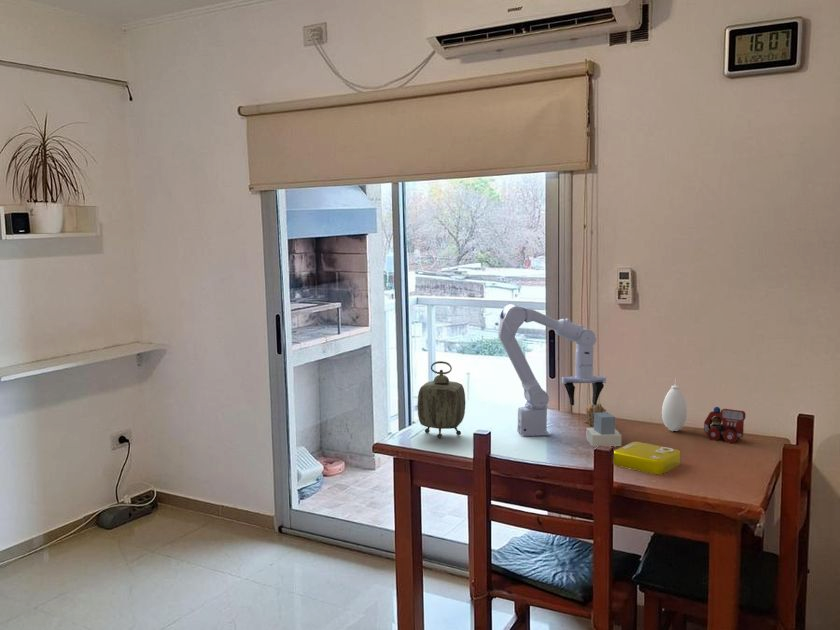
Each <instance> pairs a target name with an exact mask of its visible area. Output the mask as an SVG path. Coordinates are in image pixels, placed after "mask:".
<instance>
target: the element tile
mask: <svg viewBox="0 0 840 630" xmlns="http://www.w3.org/2000/svg"><path fill="white" fill-rule="evenodd" d="M613 451H614V465H613V466H615V465H617V466H616V467H619V466H623V467H627V468H631V469H630V470H632V469H636V470H640V471H643V472H642V473H645V472H648V473H647V474H649V473H653V474H652V475H654V474H662V475H664V474H666V473H668V472H670V471H671V470H670V469H672V468H673V469H675V468H677V467H678V465H679V464H680V465H681V451H680V449H676V448H671V447H666V446H661V445H656V444H651V443H646V442H640V441H632V442H630V443H628V444H625V445H623V446H621V447H618V448H617V449H614V450H613ZM680 465H679V466H680ZM676 466H677V467H676ZM623 467H622V468H623ZM674 467H675V468H674ZM627 468H626V469H627ZM673 469H672V470H673ZM636 470H635V471H636ZM669 470H670V471H669ZM640 471H639V472H640ZM667 471H668V472H667ZM665 472H666V473H665ZM663 473H664V474H663Z"/></svg>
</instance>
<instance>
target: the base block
mask: <svg viewBox="0 0 840 630" xmlns="http://www.w3.org/2000/svg"><path fill="white" fill-rule="evenodd" d="M585 429H586V431H585V432H586V433H585V434H586V436H585V439H586V440H587V442H588V443H589V444H590V446H591V447H593V448H597V447H596V446H598V445H609V446H614V447H613V448H617V447H616V446H621V447H622V439H623V438H622V436H623V435H622V434H621V433H620V432H619V431H618V430H617V429H616V428H615V434H603V435H601V434H600V433H598V432H597V431H595V430H594V427H592V428H589V427H586V428H585Z"/></svg>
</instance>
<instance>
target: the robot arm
mask: <svg viewBox="0 0 840 630" xmlns="http://www.w3.org/2000/svg"><path fill="white" fill-rule="evenodd" d="M524 322H525V323H526V324H527V323H531V322H534V323H537V324H540V325H542V326H545V327H548V328H550V329H552V330H553V331H554V333H555V335H557V336H559V337H562V338H564V339H566V340H568V341H571V342H575V363H574V364H575V365H574V366H575V369H574V376H562V377H561V384H563V385H564V387H565V390H566V392H567V394H568V398H569V404H570V405H571V406H575V390H576V386H575V384H591V386H592V404H594V405H597V403H598V399H599V397H600V394H601V392H602V390H603V389H604V387H605V385H604V384H607V377H606V376H597V375H593V374H594V345H595V344H596V342H597V337H596V334H595V332H594V331H592V330H591V329H589V328H587V327H584V325H583V324H577V323H574V322H572V320H571V319H570V318H560V319H554V318H552V317H550V316H549V315H546V314H543V313H541V312H539V311H537V310H534V309H533V308H529V307H526V306H522V305H519V306H518V305H517V304H515V303H508V304H506V305H504V307H503V308H502V309H501V311H500V314H499V324H498V325H499V327H498V335H497V336H498V338H499V341H500V343H501V344H502V346H503V348H504V350H505V352H506V354H507V357H508V358H509V360H510V362H511V365H513V367H514V370H515V372H516V375H518V378H519V380H520V381H521V385H522V388H523V395H524V398H525V400H526V402H525V405H524V406H522V407H521V406H519V407H518V409H517V429H516V430H517V431H518V433H519V435H521V436H522V437H532V436H534V437H535V436H536V437H539V436H551V433H550V432H549V431H548V430H547V428H548V425H547V423H548V422H547V421H548V419H547V418H548V404H549V402H550V401H549V400H550V397H549V394H548V392H546V391H545V390H544V389H543V388H542V386H541V385H540V383H539V381H538V379H537V378H536V376H535V375H534V372H533V371H532V369H531V366H530V364H529V363H528V360H527V358H526V356H525V355H524V352H523V350H522V349H521V346H520V344H519V343H518V340H517V338H516V334H517V332H518V330H519V328H520V327H521V326H522V325H523V324H524Z"/></svg>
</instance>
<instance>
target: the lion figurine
mask: <svg viewBox="0 0 840 630" xmlns="http://www.w3.org/2000/svg"><path fill="white" fill-rule="evenodd" d="M585 411H586V413H585V414H586V417H585V421H584V424H588V427H587V428H593V425H592V422H594V413H601V412H607V409H606V408H604V407H603V406H602V403H601V402H597V405H594V404H593V403H590V404H588V405H587V406H586V410H585Z"/></svg>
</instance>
